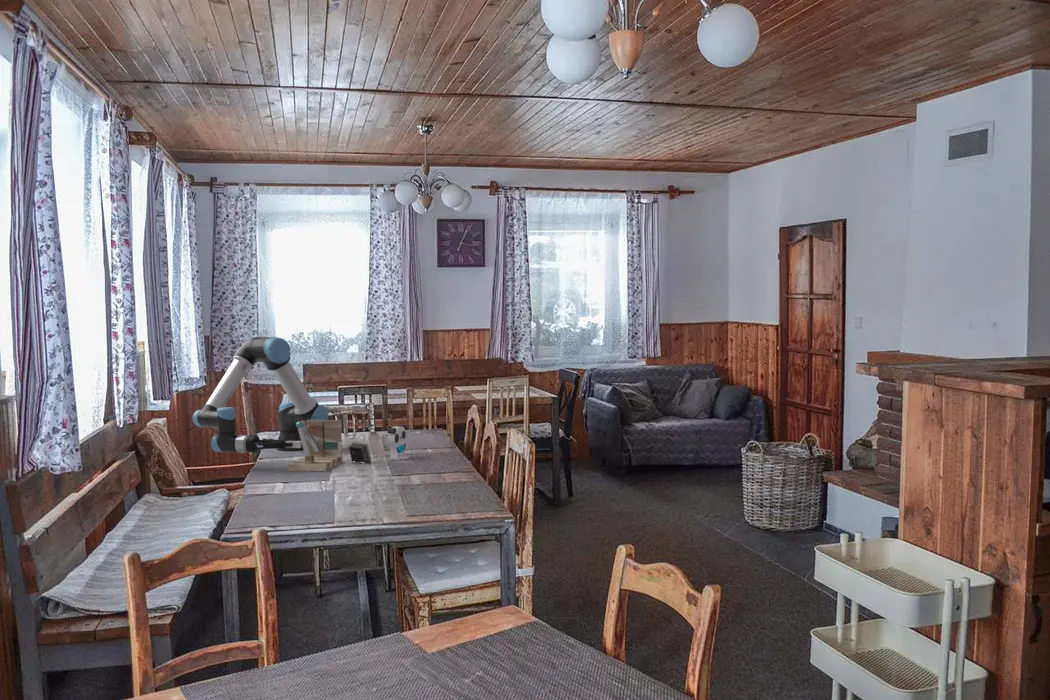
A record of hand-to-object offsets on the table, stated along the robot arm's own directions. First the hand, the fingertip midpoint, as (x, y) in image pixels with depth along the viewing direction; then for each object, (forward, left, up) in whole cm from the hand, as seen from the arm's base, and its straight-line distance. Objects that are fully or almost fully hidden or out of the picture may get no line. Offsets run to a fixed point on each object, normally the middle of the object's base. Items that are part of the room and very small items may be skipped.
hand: (300, 444), depth 355 cm
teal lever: (-1, +4, -8) cm, 9 cm away
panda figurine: (-29, +35, -11) cm, 47 cm away
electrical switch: (-18, +21, -11) cm, 30 cm away
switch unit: (-9, +4, -11) cm, 15 cm away
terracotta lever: (-15, +4, -8) cm, 17 cm away
